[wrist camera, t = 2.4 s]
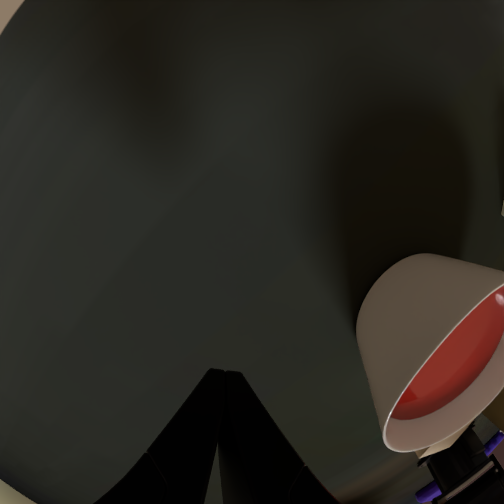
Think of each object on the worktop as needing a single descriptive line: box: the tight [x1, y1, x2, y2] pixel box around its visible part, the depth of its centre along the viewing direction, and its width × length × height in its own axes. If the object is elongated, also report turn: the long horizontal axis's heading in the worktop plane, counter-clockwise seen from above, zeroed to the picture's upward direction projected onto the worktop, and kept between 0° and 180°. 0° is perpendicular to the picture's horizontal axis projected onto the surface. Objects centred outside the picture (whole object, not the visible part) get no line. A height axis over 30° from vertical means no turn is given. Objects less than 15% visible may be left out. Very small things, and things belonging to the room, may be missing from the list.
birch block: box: [415, 418, 475, 458], centre depth 15 cm, size 4×4×4 cm
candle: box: [356, 253, 504, 452], centre depth 10 cm, size 9×9×6 cm
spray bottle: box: [415, 430, 504, 503], centre depth 25 cm, size 3×11×24 cm
